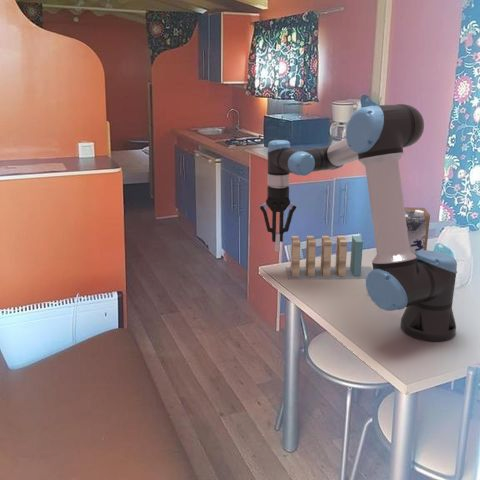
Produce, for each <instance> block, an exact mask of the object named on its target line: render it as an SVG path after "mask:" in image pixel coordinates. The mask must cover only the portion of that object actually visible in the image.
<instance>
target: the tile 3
mask: <svg viewBox="0 0 480 480" xmlns="http://www.w3.org/2000/svg"><path fill="white" fill-rule="evenodd" d="M332 243H333V242H332V240H331V238H330V236H329V235H322V236H321V249H320V254H321V255H320V266H319V267H320V270H321V272H322V275H323V276H330V267H331V262H332V261H331V260H332Z"/></svg>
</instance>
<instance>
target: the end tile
mask: <svg viewBox="0 0 480 480" xmlns="http://www.w3.org/2000/svg"><path fill="white" fill-rule="evenodd" d="M363 247H364V241H363V240H362V238H361V237H360V236H359V235H352V236H351V249H350V252H351V253H350V266H349V267H350V270H351V272H352V274H353V276H361V267H362V261H363V260H362V259H363Z"/></svg>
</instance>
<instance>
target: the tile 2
mask: <svg viewBox="0 0 480 480" xmlns="http://www.w3.org/2000/svg"><path fill="white" fill-rule="evenodd" d="M305 244H306V247H305V249H306V251H305V267H306V272H307V275H308V277H315V267H316V250H317V249H316V248H317V247H316V246H317V241H316V239H315V237H314V235H306V243H305Z"/></svg>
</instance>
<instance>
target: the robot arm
mask: <svg viewBox="0 0 480 480" xmlns="http://www.w3.org/2000/svg"><path fill="white" fill-rule="evenodd" d="M424 129H425V121H424V117H423V115H422V114H421V112H420V111H419V110H418V109H417V108H415V107H414V106H412V105H409V104H404V103H403V104H402V103H399V104H383V105H381V104H379V105H378V104H377V105H375V104H374V105H368V106H363V107H360V108H358V109H357V110H355V111H354V112H353V113H352V114H351V115H350V119H349V120H348V122H347V125H346V129H345V138H344V139H341V140H339V141H336V142H334V143H332V144H329V145H326V146H325V147H318V148H317V147H316V148H308V149H292V148H291V142H290V141H288V140H286V139H275V140H271V141H269V142H268V144H267V145H268V146H267V185H268V186H267V197H266V201H265V202H264V203H262V204H260V205H259V209H260V210H261V212H262V214H263V218H264V223H265V226H266V231H267V232H268V233H271V240H272V243H274V252H280V248H281V243H283V242H284V233H288V232H289V230H290V225H291V222H292V220H293V219H292V218H293V216H294V215H293V214H294V212H295V211H296V210H297V206H296V204H294V203H292V202H291V199H290V187H289V186H290V174H293V175H295V176H302V177H304V176H308V175H309V174H311V173H313V172H320V171H327V170H328V171H329V170H333V171H334V170H336V169H337V170H338V169H341V168H342V167H343V166H344V165H346V164H348V163H351V162H354V161H356V160H358V162H359V163H361V164H362V165H364V167H365V173H366V174H365V175H366V181H367V182H366V183H367V189H368V190H367V191H368V197H369V203H370V212H371V220H372V226H373V234H374V242H375V250H376V255H375V256H374V258H373V259H372V260H371V264H372V269H373V270H372V271H371V272H369V274H368V275H367V276H368V277H366V279H365V287H366V288H365V289H366V292H367V295H368V297H369V298H370V300H371V301H372V302H373V303H374V304H375V306H377V307H378V308H379V309H381V310H383V311H386V312H392V311H396V310H403V309H405V310H404V311H403V313H402V316H401V319H400V330H402V331H403V332H404V333H405V334H406V335H408V336H411V337H412V338H415V339H418V340H422V341H427V342H443V341H448V340H451V339H452V338H454V337H455V335H456V332H457V331H456V330H457V324H456V320H455V316H454V311H453V300H454V294H455V285H456V279H457V274H458V271H457V268H458V263H457V260H456V259H455V258H454V257H453V256H451V255H449V254H446V253H443V252H440V251H436V250H434V251H433V250H419V251H416V252H415V253H414V254H413V253H412V252H411V251H410V249H409V241H408V233H407V225H406V217H405V209H404V207H405V204H404V203H405V202H404V196H403V195H404V194H403V188H402V187H403V186H402V181H401V180H402V179H401V178H402V177H401V171H400V163H399V161H400V159H401V158H402V156H403V155H404V149H405V148H408V147H411V146H413V145H415V144H416V143H417V142H418V141H419V140H420V139H421V137H422V135H423V133H424ZM287 208H288V209H289V210H288V212H287V217H286V221H285V224H284V215H285V213H284V212H285V211H286V210H287ZM268 209H270V211H271V213H272V214H271V215H272V216H271V217H272V218H271V225H270V221H269V216H268V214H267V213H268V212H267V210H268ZM277 213H279V216H278V217H279V220H278V221H279V222H278V224H279V225H278V227H279V228H278V229H279V230H278V231H277Z"/></svg>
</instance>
